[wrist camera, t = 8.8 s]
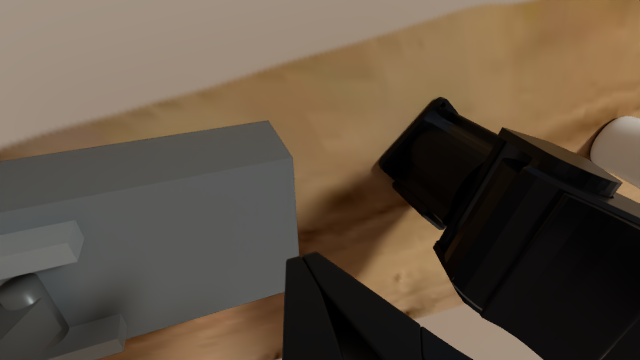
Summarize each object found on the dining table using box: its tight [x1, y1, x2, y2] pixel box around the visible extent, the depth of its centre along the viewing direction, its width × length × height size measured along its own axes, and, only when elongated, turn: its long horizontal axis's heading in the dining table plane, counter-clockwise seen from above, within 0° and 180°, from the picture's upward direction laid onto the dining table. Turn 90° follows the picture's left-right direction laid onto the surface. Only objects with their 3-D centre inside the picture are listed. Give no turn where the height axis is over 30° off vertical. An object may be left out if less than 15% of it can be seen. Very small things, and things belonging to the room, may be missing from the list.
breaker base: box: [0, 121, 299, 360], centre depth 18 cm, size 16×9×6 cm, turn 92°
